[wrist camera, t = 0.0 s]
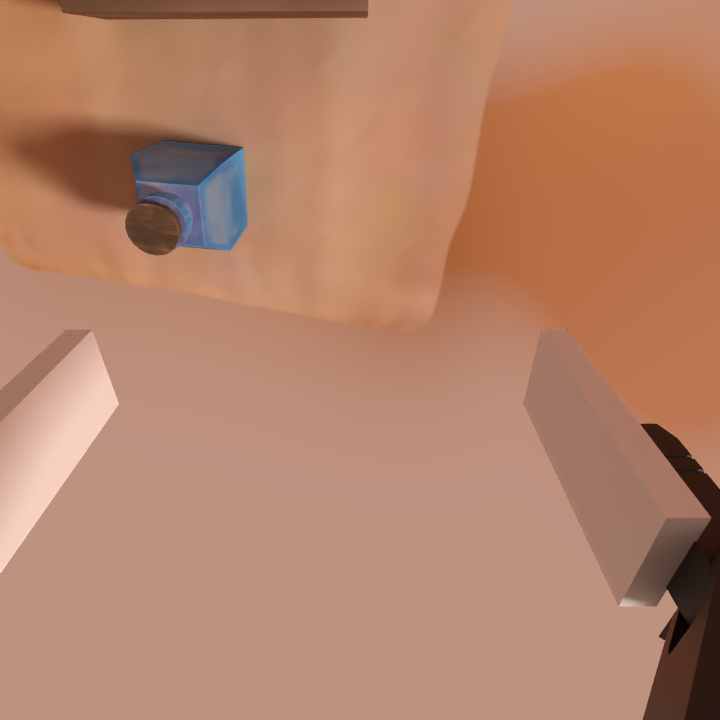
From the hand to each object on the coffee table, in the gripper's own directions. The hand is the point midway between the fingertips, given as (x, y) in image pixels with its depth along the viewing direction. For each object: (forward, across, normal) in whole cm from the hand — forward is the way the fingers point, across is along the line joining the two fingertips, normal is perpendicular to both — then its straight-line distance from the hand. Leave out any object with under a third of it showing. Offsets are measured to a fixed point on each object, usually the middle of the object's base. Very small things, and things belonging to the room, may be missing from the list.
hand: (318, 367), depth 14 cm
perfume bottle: (+28, -11, -1) cm, 30 cm away
